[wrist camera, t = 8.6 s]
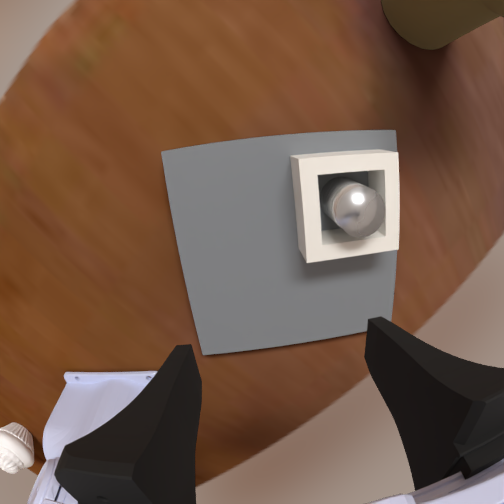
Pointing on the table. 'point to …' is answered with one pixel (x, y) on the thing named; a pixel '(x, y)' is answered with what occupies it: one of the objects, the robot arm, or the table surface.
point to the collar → (308, 205)
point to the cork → (439, 19)
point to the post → (353, 206)
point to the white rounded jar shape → (15, 448)
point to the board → (268, 244)
